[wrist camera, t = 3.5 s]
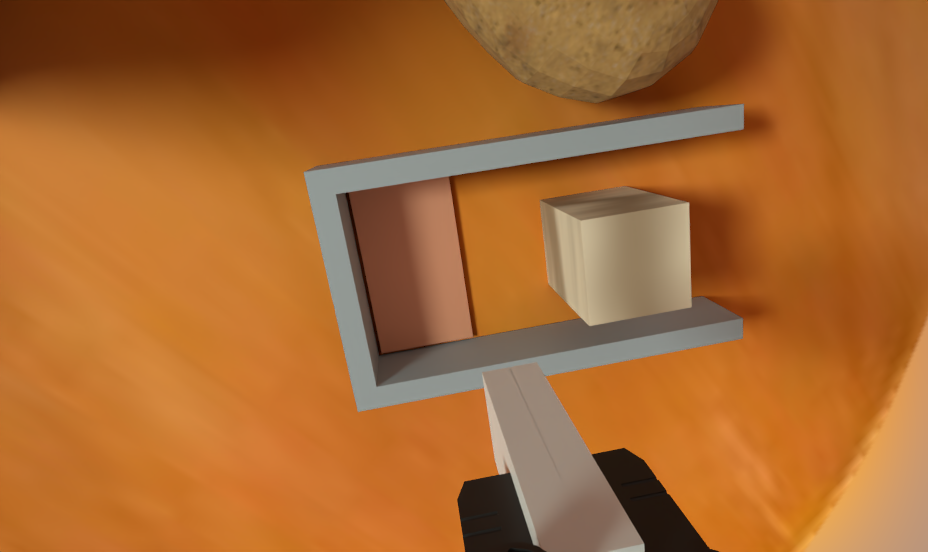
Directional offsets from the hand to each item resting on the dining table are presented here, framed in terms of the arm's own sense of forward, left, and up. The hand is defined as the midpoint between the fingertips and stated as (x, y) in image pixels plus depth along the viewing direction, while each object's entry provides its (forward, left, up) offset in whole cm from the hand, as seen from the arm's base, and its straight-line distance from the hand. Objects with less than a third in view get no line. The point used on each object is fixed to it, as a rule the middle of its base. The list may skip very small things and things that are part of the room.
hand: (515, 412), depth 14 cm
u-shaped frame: (+5, 0, -17) cm, 17 cm away
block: (+8, 0, -17) cm, 18 cm away
